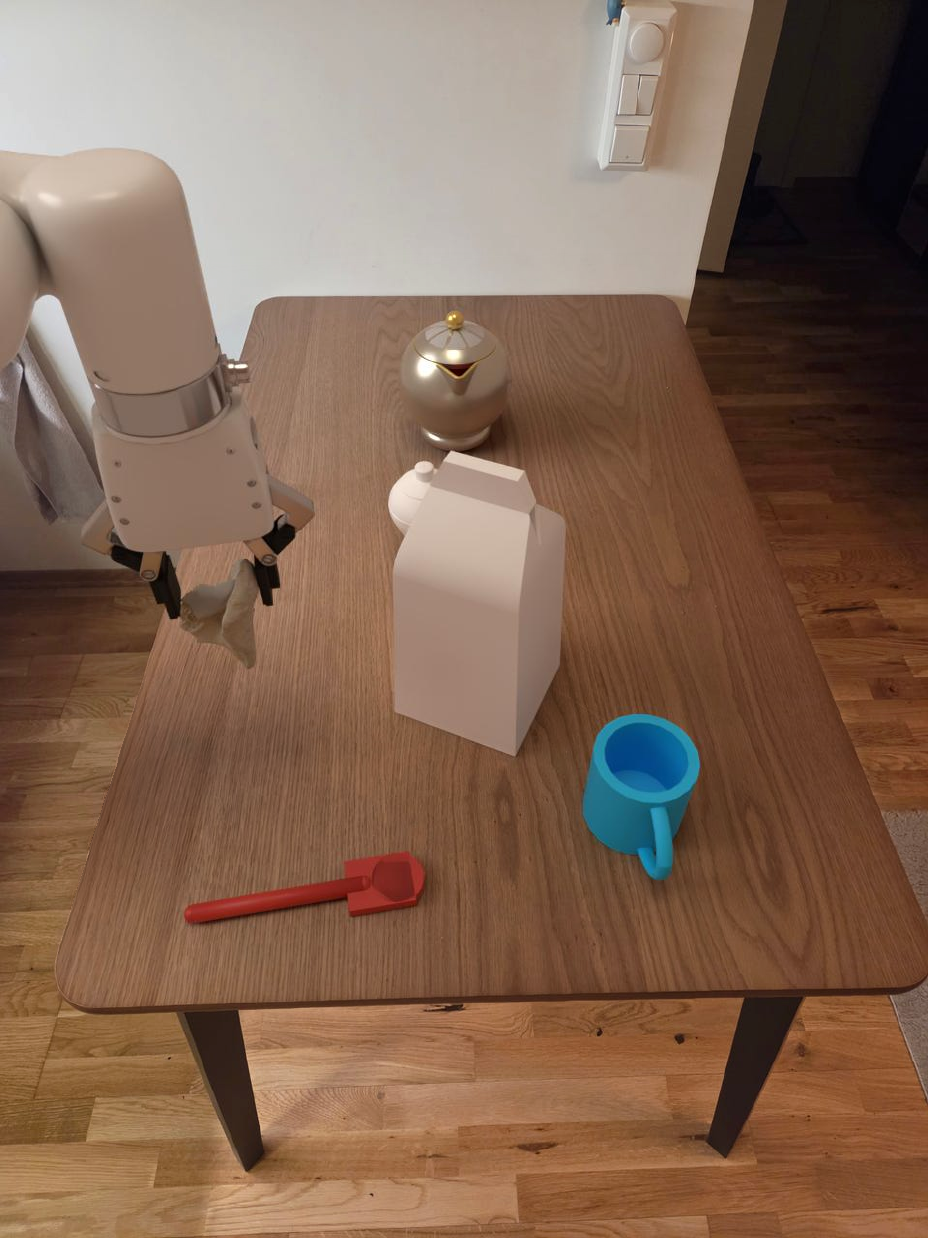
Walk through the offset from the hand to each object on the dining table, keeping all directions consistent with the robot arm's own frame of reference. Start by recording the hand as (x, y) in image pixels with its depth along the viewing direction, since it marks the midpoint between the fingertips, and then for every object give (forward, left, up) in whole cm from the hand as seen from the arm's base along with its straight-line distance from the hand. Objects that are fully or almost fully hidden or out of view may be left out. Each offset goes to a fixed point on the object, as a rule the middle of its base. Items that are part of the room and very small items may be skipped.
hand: (221, 597), depth 64 cm
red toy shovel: (+2, -16, -18) cm, 24 cm away
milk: (+20, +2, -18) cm, 27 cm away
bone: (0, 0, -4) cm, 4 cm away
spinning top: (+18, +21, -18) cm, 34 cm away
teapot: (+25, +44, -18) cm, 54 cm away
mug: (+30, -15, -18) cm, 38 cm away
